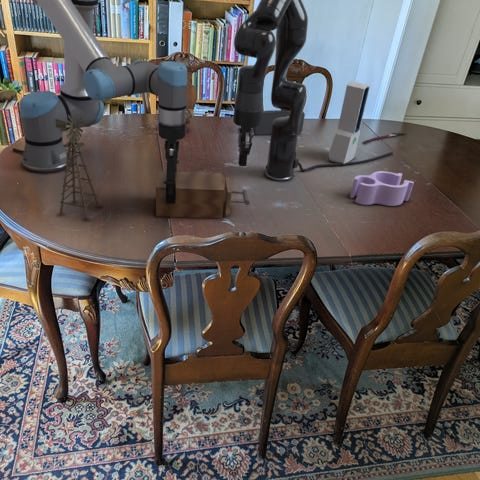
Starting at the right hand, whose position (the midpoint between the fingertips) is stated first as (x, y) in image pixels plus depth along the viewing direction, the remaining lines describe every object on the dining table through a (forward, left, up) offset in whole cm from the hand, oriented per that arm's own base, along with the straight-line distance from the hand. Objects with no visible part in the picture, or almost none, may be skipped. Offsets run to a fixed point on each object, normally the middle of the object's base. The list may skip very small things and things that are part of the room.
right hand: (242, 165), depth 137 cm
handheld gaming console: (-63, -39, -15) cm, 75 cm away
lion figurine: (-27, -64, -15) cm, 72 cm away
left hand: (+16, -13, -10) cm, 23 cm away
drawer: (+7, -6, -14) cm, 17 cm away
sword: (-102, -8, -15) cm, 104 cm away
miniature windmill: (+38, -27, -15) cm, 49 cm away
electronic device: (-64, -5, -15) cm, 66 cm away
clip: (-46, +23, -15) cm, 53 cm away
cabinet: (+12, -10, -15) cm, 21 cm away
